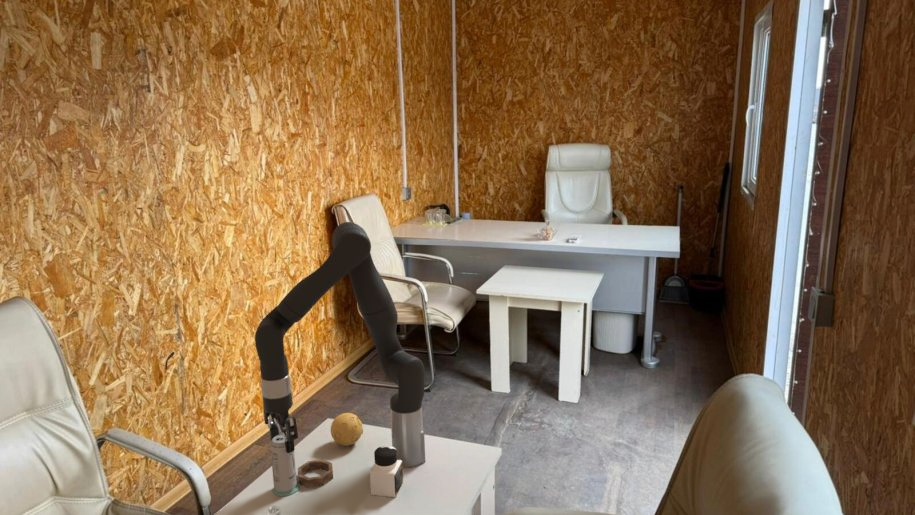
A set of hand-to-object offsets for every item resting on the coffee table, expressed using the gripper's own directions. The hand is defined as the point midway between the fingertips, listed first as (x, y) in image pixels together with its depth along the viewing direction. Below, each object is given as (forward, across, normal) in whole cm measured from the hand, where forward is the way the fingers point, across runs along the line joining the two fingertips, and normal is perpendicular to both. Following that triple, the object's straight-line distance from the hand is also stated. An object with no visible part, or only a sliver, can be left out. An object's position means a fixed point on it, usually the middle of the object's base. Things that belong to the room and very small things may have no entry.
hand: (282, 445), depth 166 cm
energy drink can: (+13, 0, +1) cm, 13 cm away
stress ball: (+14, +8, -25) cm, 29 cm away
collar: (+13, -1, -8) cm, 15 cm away
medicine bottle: (+13, -20, -19) cm, 31 cm away
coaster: (+13, 0, 0) cm, 13 cm away
